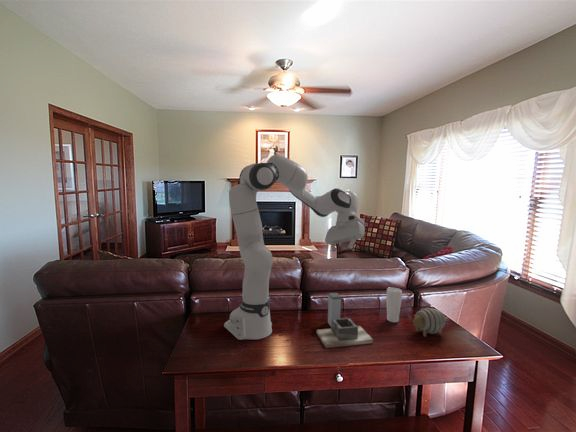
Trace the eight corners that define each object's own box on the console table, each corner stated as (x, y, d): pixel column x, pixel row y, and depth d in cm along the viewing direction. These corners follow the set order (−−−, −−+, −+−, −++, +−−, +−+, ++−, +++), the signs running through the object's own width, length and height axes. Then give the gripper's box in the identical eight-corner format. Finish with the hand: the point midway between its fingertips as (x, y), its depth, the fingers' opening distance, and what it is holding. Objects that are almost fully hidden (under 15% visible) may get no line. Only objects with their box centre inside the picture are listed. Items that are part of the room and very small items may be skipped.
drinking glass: (401, 319, 140) (403, 289, 139) (398, 325, 135) (400, 293, 133) (387, 316, 144) (388, 286, 142) (383, 321, 138) (385, 290, 137)
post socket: (316, 332, 126) (317, 318, 126) (359, 328, 130) (360, 314, 130) (325, 348, 115) (326, 332, 114) (372, 343, 119) (373, 327, 118)
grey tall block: (327, 322, 136) (328, 293, 135) (335, 321, 137) (336, 292, 136) (331, 327, 131) (332, 297, 130) (339, 326, 132) (341, 296, 131)
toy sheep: (405, 330, 130) (406, 305, 129) (436, 325, 135) (438, 302, 134) (422, 342, 120) (424, 316, 119) (455, 336, 125) (457, 311, 124)
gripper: (324, 224, 143) (319, 250, 136) (359, 214, 128) (355, 243, 122) (333, 230, 146) (328, 255, 140) (368, 221, 131) (364, 249, 125)
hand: (341, 249), depth 131 cm, fingers open, 8 cm apart
